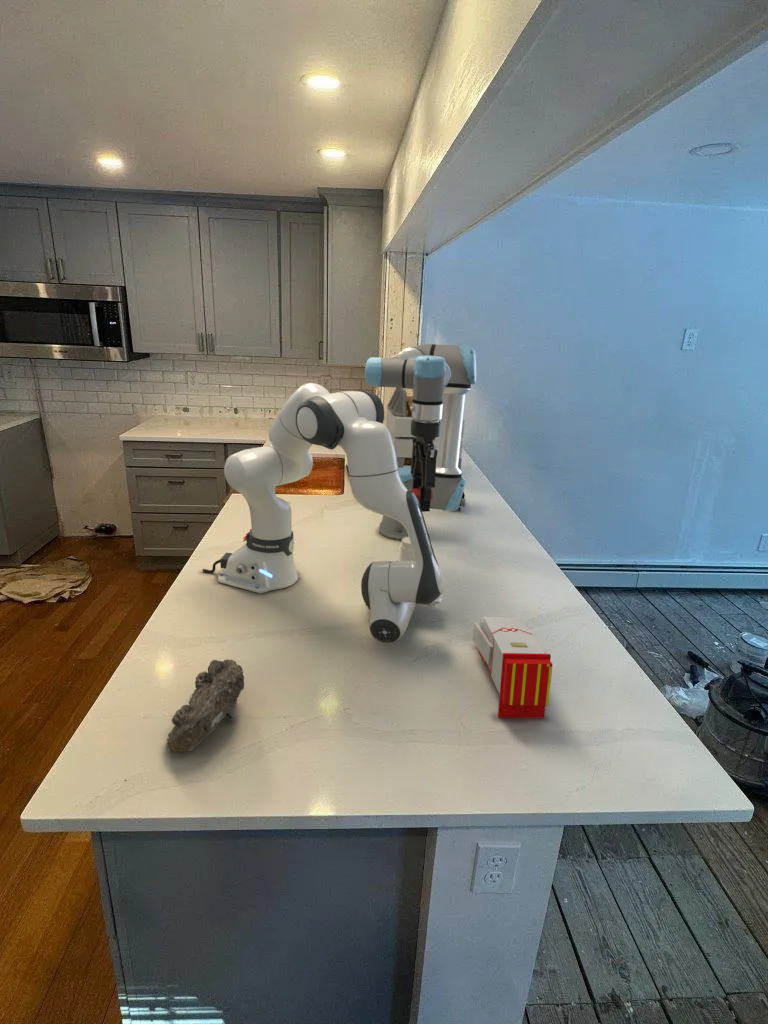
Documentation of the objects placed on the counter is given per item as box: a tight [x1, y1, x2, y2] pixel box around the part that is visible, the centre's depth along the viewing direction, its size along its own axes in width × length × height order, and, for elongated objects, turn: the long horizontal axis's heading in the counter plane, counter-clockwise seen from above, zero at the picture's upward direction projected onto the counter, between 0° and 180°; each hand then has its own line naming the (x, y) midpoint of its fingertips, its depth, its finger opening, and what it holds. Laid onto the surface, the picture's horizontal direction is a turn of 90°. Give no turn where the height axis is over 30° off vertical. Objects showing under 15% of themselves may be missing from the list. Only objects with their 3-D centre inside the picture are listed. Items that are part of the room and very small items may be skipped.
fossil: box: [166, 658, 245, 754], centre depth 106 cm, size 22×10×15 cm
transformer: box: [385, 388, 465, 471], centre depth 268 cm, size 34×33×41 cm
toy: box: [472, 616, 553, 719], centre depth 122 cm, size 12×13×30 cm
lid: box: [410, 488, 433, 501], centre depth 149 cm, size 6×6×2 cm
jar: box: [398, 537, 415, 561], centre depth 153 cm, size 6×6×17 cm
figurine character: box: [457, 490, 466, 511], centre depth 229 cm, size 7×8×15 cm
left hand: (408, 575), depth 154 cm, fingers closed on jar, 5 cm apart
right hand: (420, 506), depth 150 cm, fingers closed on lid, 6 cm apart
